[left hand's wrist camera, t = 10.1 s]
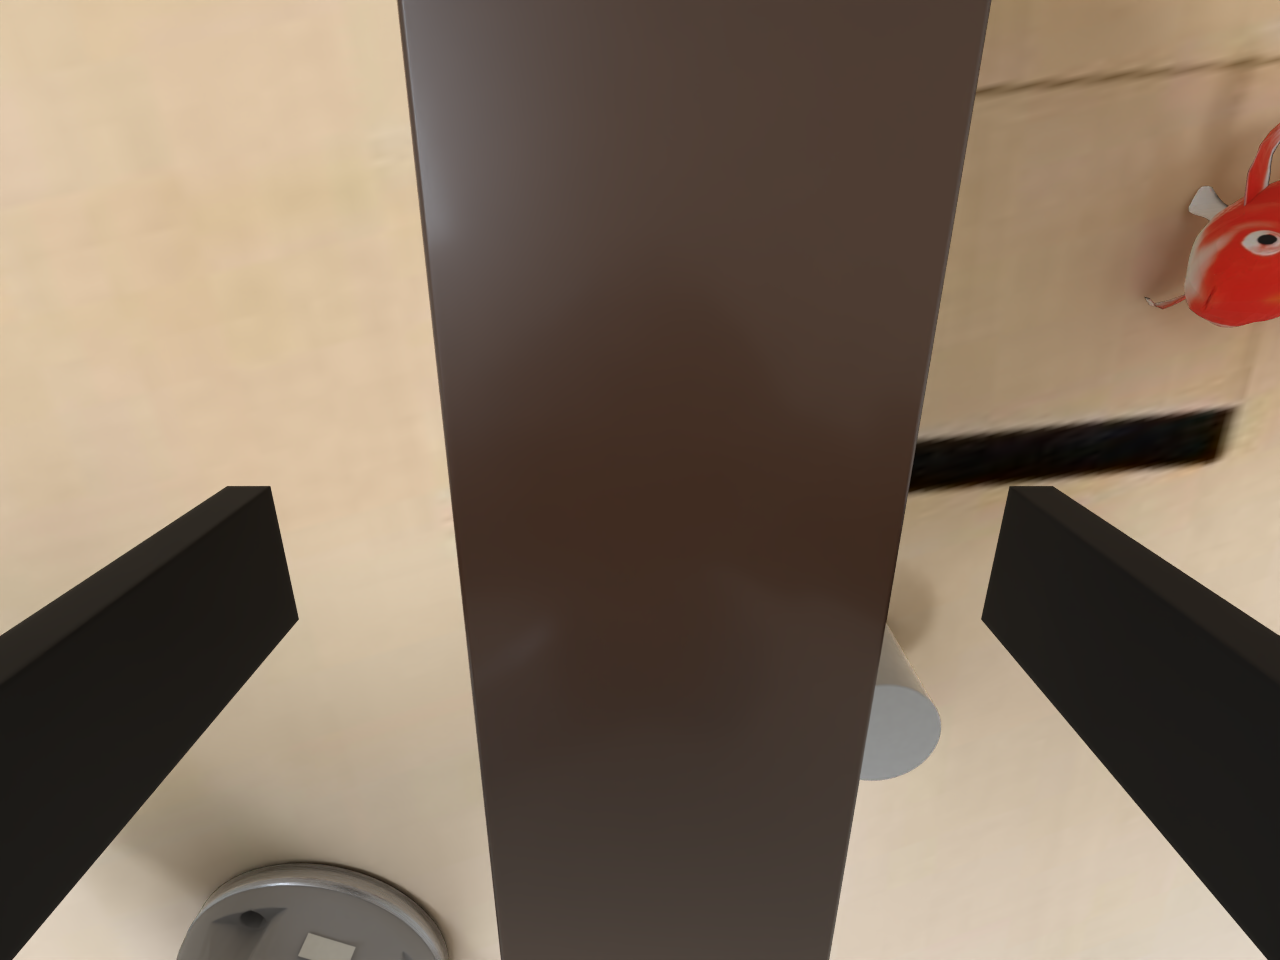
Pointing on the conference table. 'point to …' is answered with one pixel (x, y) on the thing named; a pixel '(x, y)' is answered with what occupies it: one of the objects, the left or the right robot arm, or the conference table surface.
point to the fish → (1237, 250)
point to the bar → (681, 433)
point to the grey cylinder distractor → (898, 718)
